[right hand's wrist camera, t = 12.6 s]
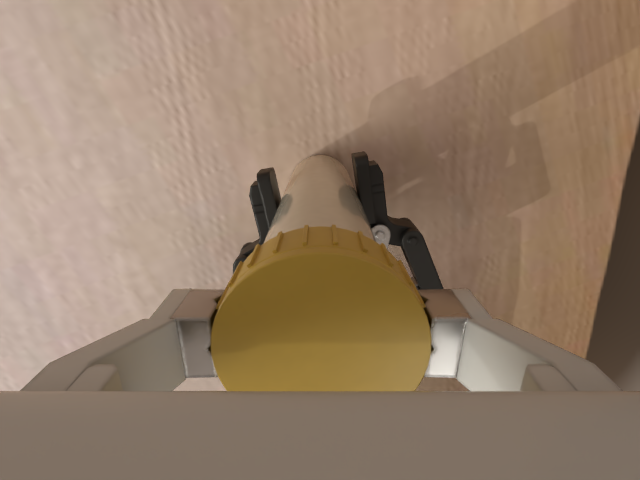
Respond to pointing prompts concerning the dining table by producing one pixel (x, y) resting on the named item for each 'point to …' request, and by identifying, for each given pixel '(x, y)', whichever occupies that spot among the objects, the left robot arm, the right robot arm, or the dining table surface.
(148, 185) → the dining table surface
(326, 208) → the bottle
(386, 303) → the lid
